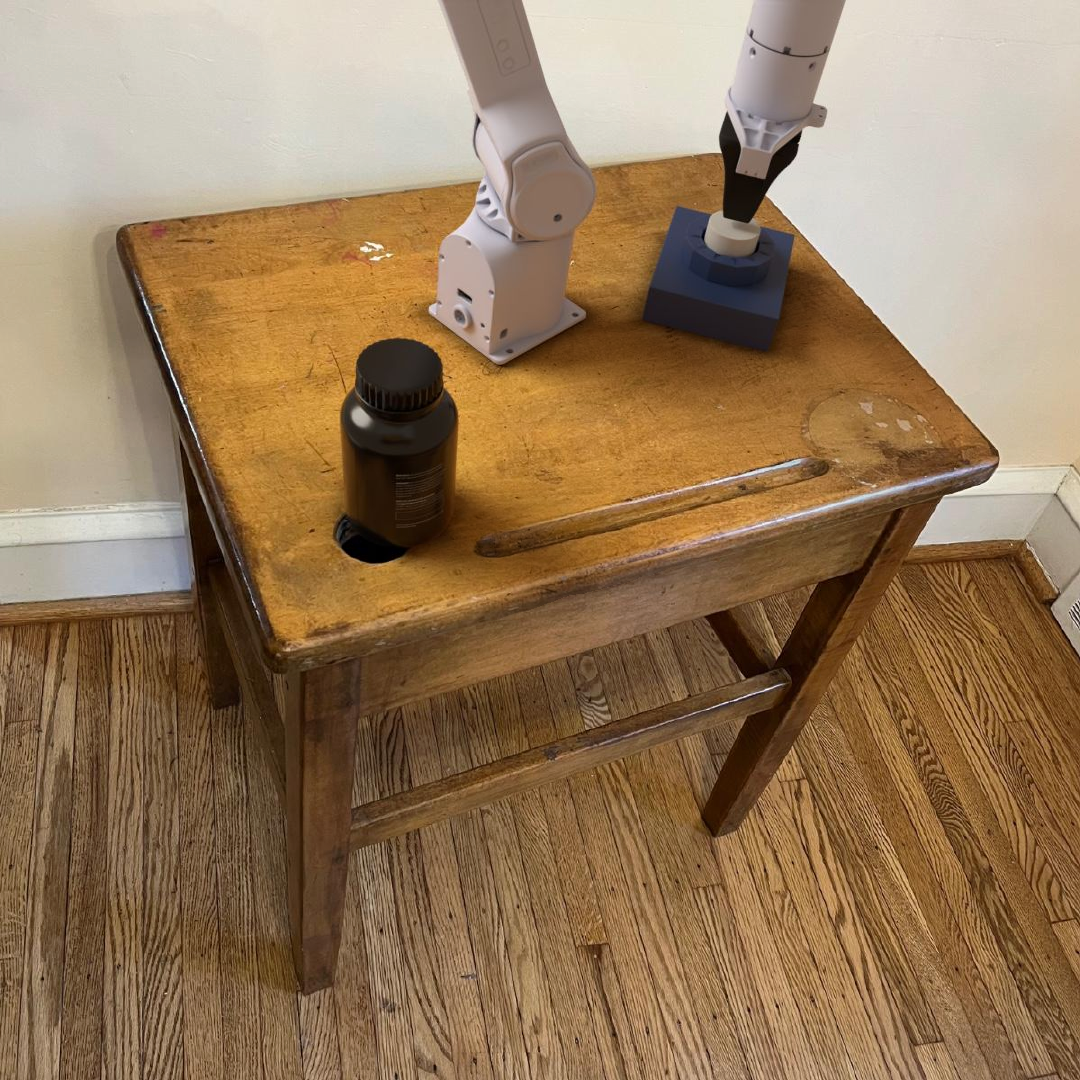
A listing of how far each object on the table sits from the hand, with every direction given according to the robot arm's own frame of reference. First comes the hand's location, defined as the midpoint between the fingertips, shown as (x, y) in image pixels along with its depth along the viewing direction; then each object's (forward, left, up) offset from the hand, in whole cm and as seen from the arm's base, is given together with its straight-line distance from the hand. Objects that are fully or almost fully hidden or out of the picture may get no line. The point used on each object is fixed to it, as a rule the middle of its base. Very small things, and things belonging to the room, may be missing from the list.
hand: (737, 216), depth 81 cm
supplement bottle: (-35, -2, -7) cm, 36 cm away
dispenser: (0, 0, -7) cm, 7 cm away
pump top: (0, 0, -3) cm, 3 cm away
